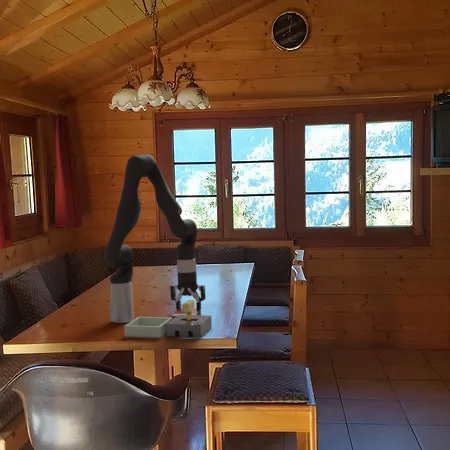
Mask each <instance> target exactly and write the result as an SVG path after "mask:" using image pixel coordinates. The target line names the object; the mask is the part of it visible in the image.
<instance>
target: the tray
mask: <svg viewBox="0 0 450 450" xmlns="http://www.w3.org/2000/svg"><path fill="white" fill-rule="evenodd" d="M172 319H173V318H171V317H162V316H161V317H160V316H159V317H158V316H157V317H156V316H138V317H136V318H134V320H133V321H131V322H127V324H126V323H125V325H124V327H123V328H124V330H123V331H124V338H135V339H136V338H139V339H141V338H142V339H162V338H163V337H164V336H167V327H166V324H167V323H168V322H170V321H171V320H172Z"/></svg>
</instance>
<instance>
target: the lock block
mask: <svg viewBox="0 0 450 450" xmlns="http://www.w3.org/2000/svg"><path fill="white" fill-rule="evenodd" d="M166 327H167V334H166V337H168V338H169V337H171V338H172V337H173V338H175V337H176V336H179V338H189V337H190V336H192V337H193V338H196V339H197V338H199V339H201V338H203V337H204V336H205V335H206V334H207V333H208V332H209V331H210V330H211V329H212V328H213V327H212V315H207V314H206V315H203V314H201V315H192V321H187V320H186V315H178V316H176V317H175V318H174V319H172V320H171V321H170V322H168V323H167V324H166ZM191 331H192V332H191Z"/></svg>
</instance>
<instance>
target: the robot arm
mask: <svg viewBox="0 0 450 450" xmlns="http://www.w3.org/2000/svg"><path fill="white" fill-rule="evenodd" d="M143 178H147V179H148V180H149V182H150V183H151V184H152V186H153V189H154V193H155V200H156V204H157V206H158V207H159V209H160V210H161V212H162V213H163V215H164V216H165V217H166V220H167V224H168V227H169V229H170V231H171V233H172V234H173V236H174V237H175V238H178V239H181V242H180V243H179V244H178V245H177V247H176V272H177V273H176V274H177V275H176V276H177V284H171V285H170V287H169V288H170V289H169V290H170V300H171V301H174V302H175V309H176V310H178V311H181V309H182V304H181V303H182V302H181V299H182V298H183V297H184V296H185V297H187V296H188V297H192V298H193V299H194V301H196V302H195V304H196V307H195V308H196V309H197V312H199V311H200V310H201V311H202V302H204V301H205V300H206V297H207V296H206V285H205V284H202V285H200V284H198V281H197V280H198V279H197V278H198V277H197V263H196V253H195V246H196V241H197V237H198V228H197V224H196V222H195V221H194V220H193V219H192V218H187V219H183V218H182V216H181V215H182V213H183V208H182V207H181V205H180V204H179V202H178V201H177V200H176V198H175V197H174V195H173V193H172V192H171V190H170V188H169V186H168V185H167V183H166V181H165V178H164V176H163V174H162V172H161V169H160V168H159V165H158V163H157V161H156V160H155V158H154V157H153V156H152V155H150V154H146V153H145V154H137V155H135V154H134V155H131V156H130V157H129V158H128V160H127V162H126V166H125V171H124V179H123V180H124V181H123V187H122V190H121V195H120V199H119V203H118V207H117V211H116V214H115V220H114V223H113V227H112V231H111V234H110V237H109V239H108V243H107V245H106V247H105V251H104V262H105V265H106V266H107V267H108V268H112V269H113V268H117V270H116V271H115V272H114V273H112V274H111V275H110V277H109V281H110V295H111V296H110V297H111V298H110V300H109V313H110V323H116V324H126V323H127V324H128V323H130V322H131V321H133V320H134V319H135V313H134V312H135V311H134V298H133V297H134V296H133V294H134V293H133V274H134V260H133V259H134V258H133V257H134V256H133V255H134V254H133V251H132V247H130V246H129V245H128V244H125V243H124V241H125V239H126V238H127V237H128V236H129V235H130V233H131V232H132V231H133V230H134V228H135V227H136V225H137V223H138V222H139V218H140V215H141V210H142V204H141V201H140V197H139V186H140V182H141V179H143ZM177 290H178V291H179V293H178V294H177V293H176V291H177ZM198 291H199V292H200V295H199V293H198ZM176 294H177V295H176Z"/></svg>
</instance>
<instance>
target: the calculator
mask: <svg viewBox="0 0 450 450" xmlns="http://www.w3.org/2000/svg"><path fill="white" fill-rule="evenodd" d="M178 315H186V312H182V308H181V311H178V310H177V309H176V310H175V311H174V313H172V315H171V317H170V318H173V319H174V318H175V317H176V316H178ZM192 315H202V309H201V310H200V311H199V312H197V309H196V307H195V308H194V309H192Z"/></svg>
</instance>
